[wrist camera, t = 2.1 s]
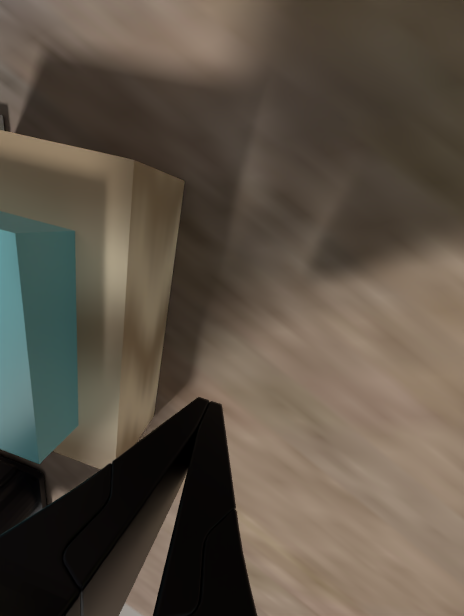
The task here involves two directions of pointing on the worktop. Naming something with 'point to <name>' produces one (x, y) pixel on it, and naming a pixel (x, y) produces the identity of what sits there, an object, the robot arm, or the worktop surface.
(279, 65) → the worktop surface
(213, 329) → the worktop surface
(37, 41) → the worktop surface
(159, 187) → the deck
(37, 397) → the teal rectangular block
